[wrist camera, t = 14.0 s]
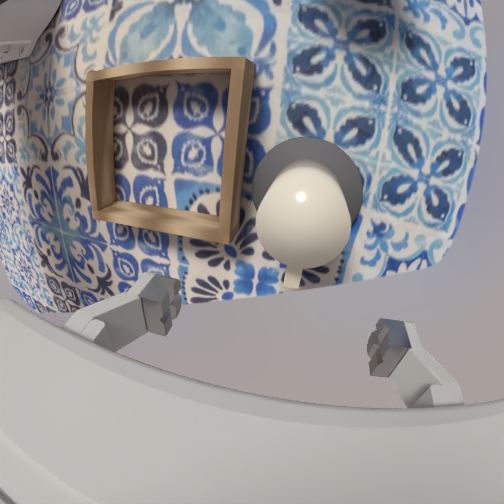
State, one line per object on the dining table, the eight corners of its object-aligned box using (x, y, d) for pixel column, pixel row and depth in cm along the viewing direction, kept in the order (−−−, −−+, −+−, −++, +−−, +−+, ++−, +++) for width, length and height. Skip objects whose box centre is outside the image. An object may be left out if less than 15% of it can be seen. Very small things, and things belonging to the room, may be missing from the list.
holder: (111, 207, 30) (92, 218, 27) (108, 73, 22) (87, 73, 19) (238, 228, 28) (228, 244, 25) (255, 64, 20) (245, 57, 17)
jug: (277, 152, 23) (260, 172, 16) (346, 165, 22) (360, 190, 15) (266, 242, 27) (248, 291, 20) (326, 253, 26) (328, 306, 19)
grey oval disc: (248, 230, 28) (247, 233, 27) (259, 129, 23) (258, 129, 22) (347, 249, 26) (347, 252, 26) (371, 150, 21) (373, 151, 21)
